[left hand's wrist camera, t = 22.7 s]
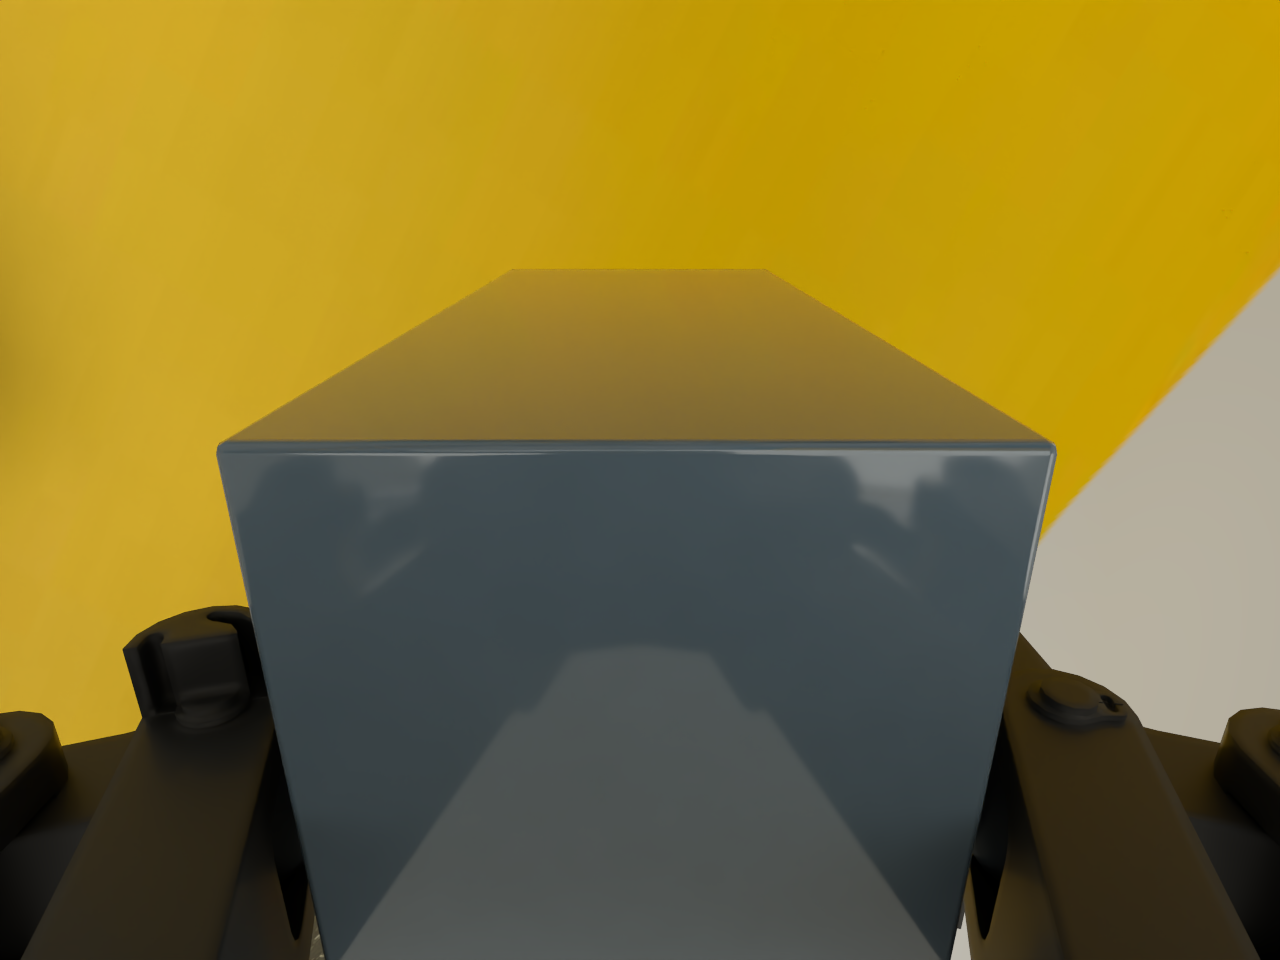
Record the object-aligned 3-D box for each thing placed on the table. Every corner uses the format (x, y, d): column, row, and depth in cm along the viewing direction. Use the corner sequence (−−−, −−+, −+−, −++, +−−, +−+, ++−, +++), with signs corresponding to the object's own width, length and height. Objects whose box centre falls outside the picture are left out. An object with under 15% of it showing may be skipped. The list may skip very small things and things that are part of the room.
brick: (530, 621, 19) (377, 1222, 8) (508, 268, 16) (207, 444, 5) (747, 621, 19) (898, 1220, 8) (768, 268, 16) (1065, 443, 5)
